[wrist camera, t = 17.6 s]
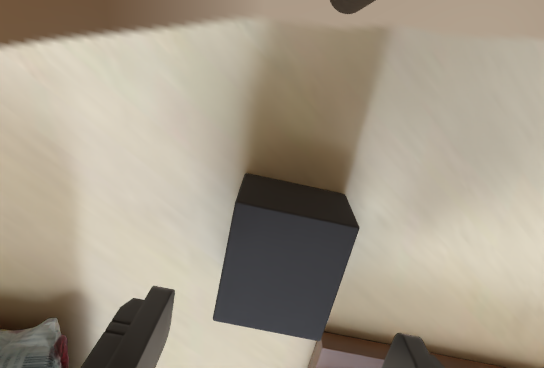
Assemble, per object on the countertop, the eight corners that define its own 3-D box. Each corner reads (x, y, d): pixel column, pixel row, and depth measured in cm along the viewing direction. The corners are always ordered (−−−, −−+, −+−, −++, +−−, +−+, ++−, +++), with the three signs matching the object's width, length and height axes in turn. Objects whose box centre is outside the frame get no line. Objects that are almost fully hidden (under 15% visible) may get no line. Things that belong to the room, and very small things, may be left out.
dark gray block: (245, 172, 16) (235, 201, 13) (345, 193, 17) (360, 227, 13) (224, 274, 19) (212, 321, 15) (314, 292, 19) (320, 342, 15)
